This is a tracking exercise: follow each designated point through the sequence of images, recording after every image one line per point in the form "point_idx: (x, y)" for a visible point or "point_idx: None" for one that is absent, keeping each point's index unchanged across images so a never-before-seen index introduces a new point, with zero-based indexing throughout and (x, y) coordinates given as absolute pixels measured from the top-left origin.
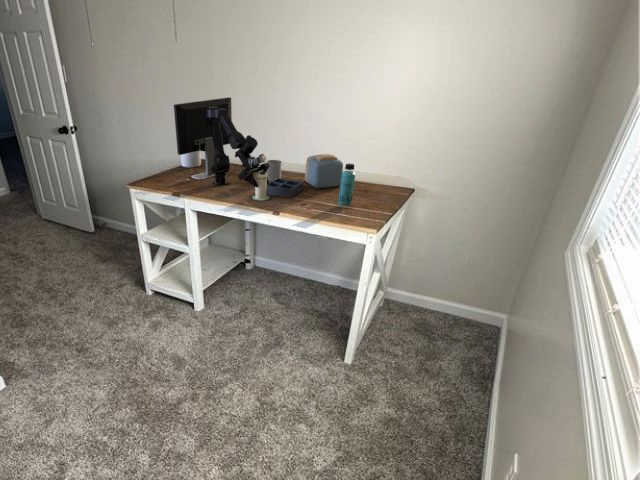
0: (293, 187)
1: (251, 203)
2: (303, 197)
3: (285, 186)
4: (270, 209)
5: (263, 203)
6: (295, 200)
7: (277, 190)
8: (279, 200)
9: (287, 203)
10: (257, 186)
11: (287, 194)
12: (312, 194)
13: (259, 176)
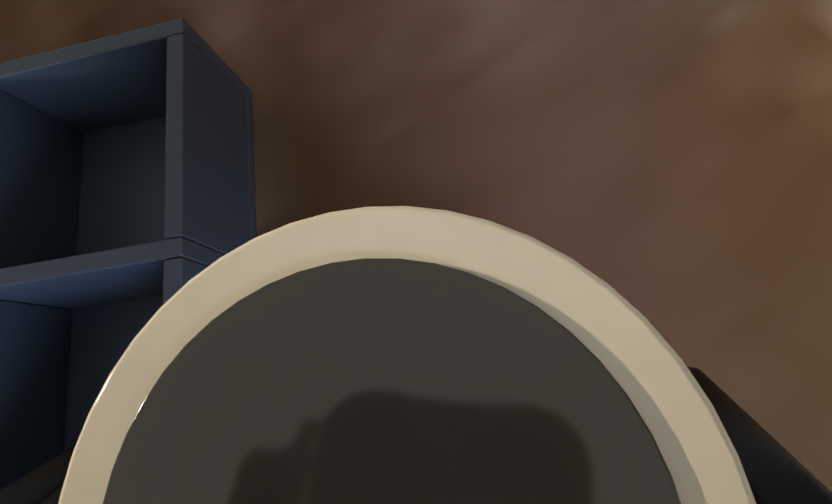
0: (74, 52)
1: (794, 381)
2: (155, 9)
3: (7, 252)
4: (780, 11)
5: (648, 229)
6: (288, 7)
7: (213, 249)
8: (396, 139)
9: (433, 6)
10: (706, 393)
11: (229, 108)
12: (29, 3)
13: (696, 429)
